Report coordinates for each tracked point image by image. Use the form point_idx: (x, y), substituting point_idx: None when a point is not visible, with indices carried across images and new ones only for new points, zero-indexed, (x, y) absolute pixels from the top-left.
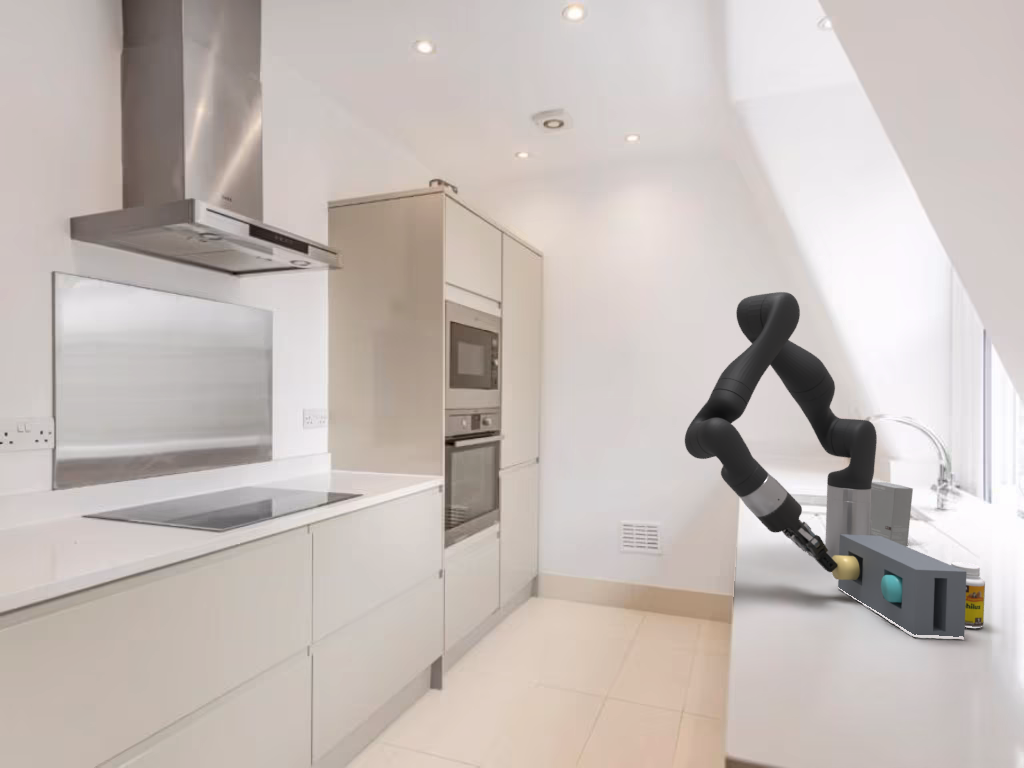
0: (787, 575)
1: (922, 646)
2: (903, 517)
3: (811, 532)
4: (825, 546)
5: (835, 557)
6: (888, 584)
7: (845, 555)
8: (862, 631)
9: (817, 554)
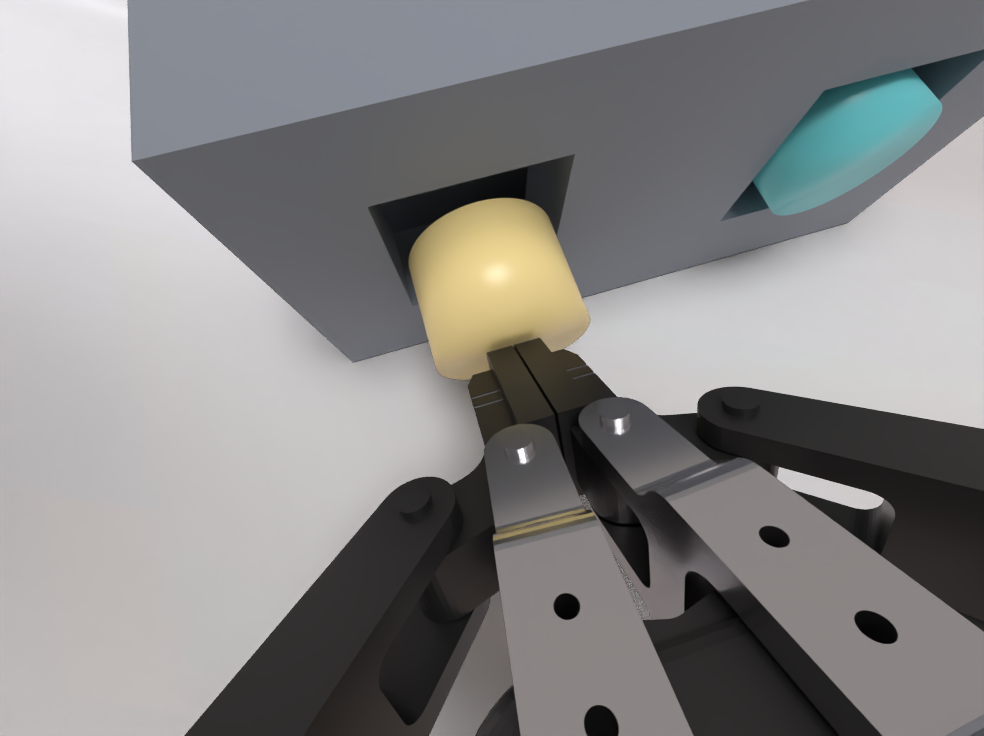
0: (163, 581)
1: (913, 216)
2: None
3: (969, 642)
4: (901, 416)
5: (495, 327)
6: (863, 148)
7: (345, 247)
8: (894, 369)
9: (848, 513)
